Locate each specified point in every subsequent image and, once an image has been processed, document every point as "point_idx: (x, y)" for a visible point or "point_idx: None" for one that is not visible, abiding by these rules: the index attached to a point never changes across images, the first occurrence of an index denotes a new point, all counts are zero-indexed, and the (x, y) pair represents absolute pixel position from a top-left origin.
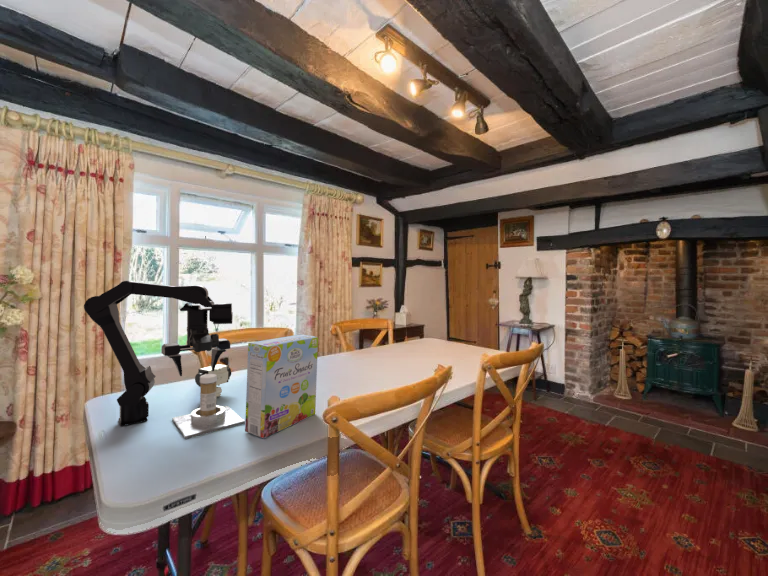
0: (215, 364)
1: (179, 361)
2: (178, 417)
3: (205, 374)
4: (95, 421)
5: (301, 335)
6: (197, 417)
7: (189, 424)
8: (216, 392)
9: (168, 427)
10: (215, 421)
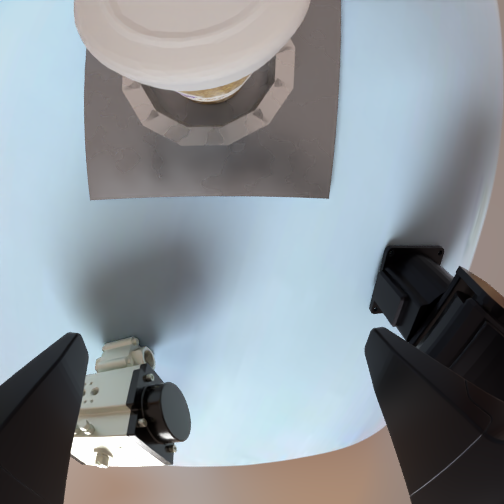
0: (25, 372)
1: (492, 421)
2: (309, 183)
3: (203, 47)
4: None
5: None
6: None
7: (297, 65)
8: (114, 353)
9: (357, 128)
10: None
